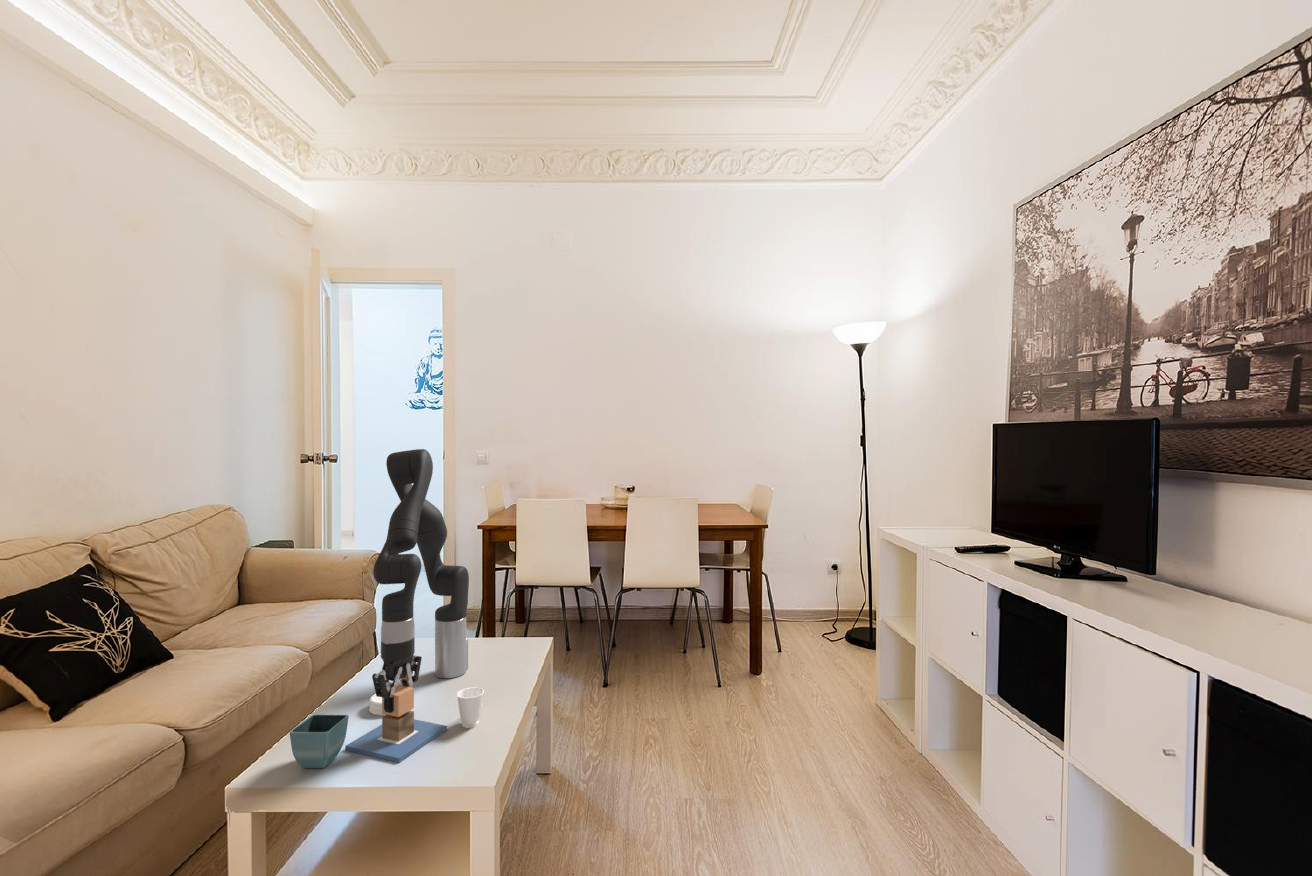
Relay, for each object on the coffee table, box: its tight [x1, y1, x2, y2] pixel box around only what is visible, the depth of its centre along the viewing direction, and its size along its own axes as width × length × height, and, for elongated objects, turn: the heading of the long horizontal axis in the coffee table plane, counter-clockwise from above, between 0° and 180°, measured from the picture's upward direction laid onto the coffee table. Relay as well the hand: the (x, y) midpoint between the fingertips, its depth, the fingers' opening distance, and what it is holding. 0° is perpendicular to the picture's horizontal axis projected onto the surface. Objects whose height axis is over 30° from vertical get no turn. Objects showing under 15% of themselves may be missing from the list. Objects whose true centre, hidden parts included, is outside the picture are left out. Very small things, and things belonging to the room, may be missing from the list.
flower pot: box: [288, 713, 350, 769], centre depth 134 cm, size 9×9×9 cm
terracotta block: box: [382, 684, 415, 717], centre depth 144 cm, size 5×5×5 cm
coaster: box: [368, 693, 386, 717], centre depth 162 cm, size 10×10×4 cm
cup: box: [456, 686, 485, 729], centre depth 154 cm, size 7×10×8 cm
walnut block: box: [381, 710, 415, 742], centre depth 144 cm, size 5×5×5 cm
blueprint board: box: [344, 718, 448, 764], centre depth 144 cm, size 16×16×1 cm
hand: (397, 706), depth 144 cm, fingers closed on terracotta block, 4 cm apart
